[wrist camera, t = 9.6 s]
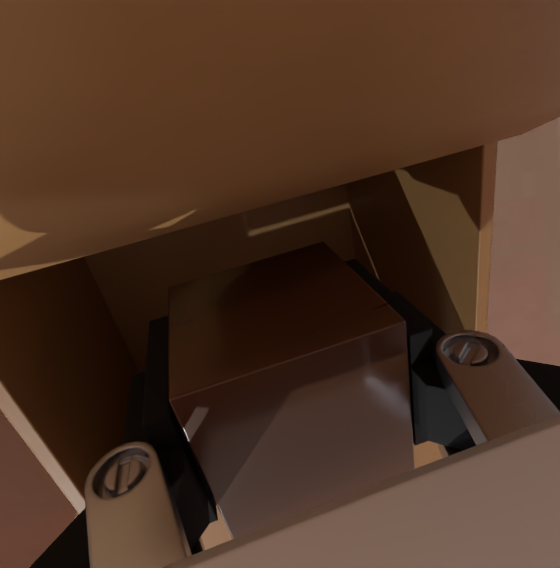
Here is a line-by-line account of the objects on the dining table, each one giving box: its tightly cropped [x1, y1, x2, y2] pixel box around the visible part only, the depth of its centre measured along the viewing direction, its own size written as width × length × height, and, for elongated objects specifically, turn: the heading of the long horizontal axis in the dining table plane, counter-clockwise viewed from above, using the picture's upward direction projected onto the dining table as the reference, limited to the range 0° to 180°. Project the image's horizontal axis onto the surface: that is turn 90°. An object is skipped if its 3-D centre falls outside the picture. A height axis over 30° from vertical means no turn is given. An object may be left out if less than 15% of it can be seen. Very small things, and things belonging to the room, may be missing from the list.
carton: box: [0, 141, 498, 550], centre depth 16 cm, size 15×13×10 cm
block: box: [168, 242, 415, 539], centre depth 10 cm, size 4×4×4 cm
